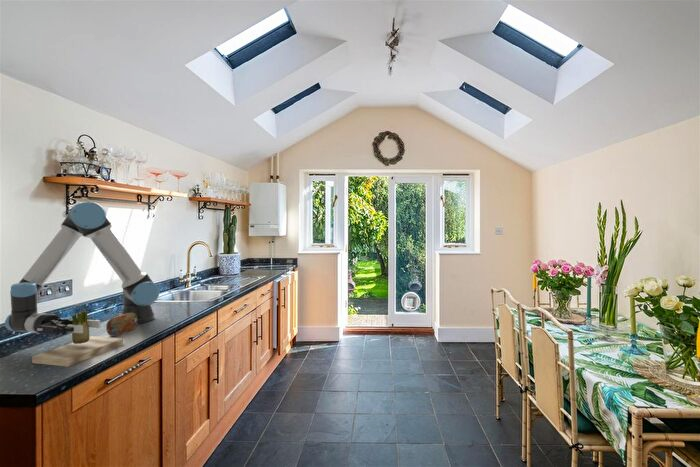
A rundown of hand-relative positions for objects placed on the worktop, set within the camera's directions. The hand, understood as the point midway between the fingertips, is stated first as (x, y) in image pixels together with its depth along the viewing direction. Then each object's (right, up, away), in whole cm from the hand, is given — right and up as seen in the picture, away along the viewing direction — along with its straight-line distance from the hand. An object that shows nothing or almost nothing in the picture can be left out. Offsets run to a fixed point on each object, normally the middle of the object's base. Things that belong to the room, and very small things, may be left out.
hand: (90, 326), depth 128 cm
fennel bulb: (-5, -7, +1) cm, 9 cm away
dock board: (-5, -11, +1) cm, 12 cm away
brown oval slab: (-5, -10, +26) cm, 29 cm away
